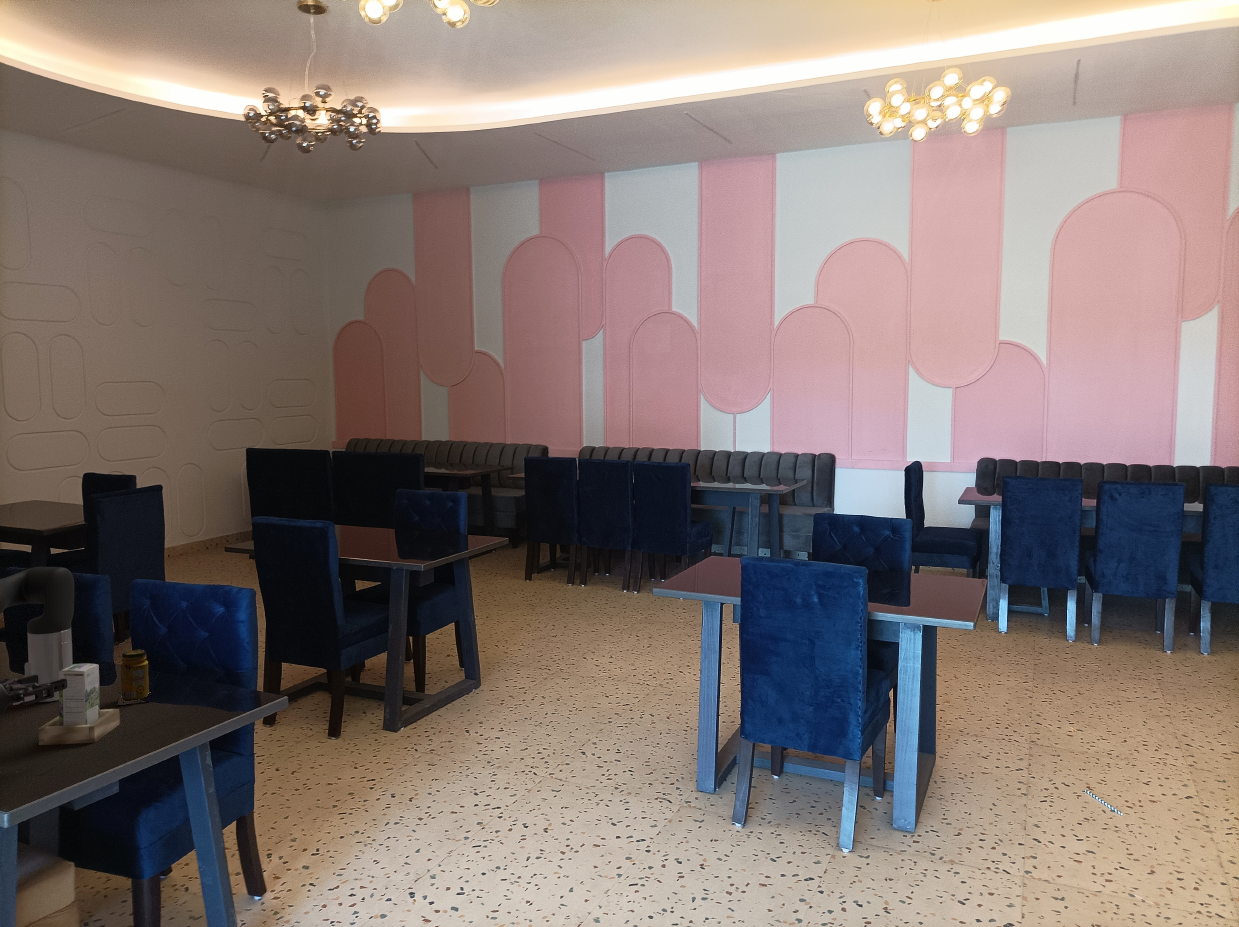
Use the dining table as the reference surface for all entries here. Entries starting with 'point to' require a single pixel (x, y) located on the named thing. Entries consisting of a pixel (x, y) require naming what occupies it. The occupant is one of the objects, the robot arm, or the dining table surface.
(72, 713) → the syrup box
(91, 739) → the wooden tray
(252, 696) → the dining table surface
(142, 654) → the condiment
